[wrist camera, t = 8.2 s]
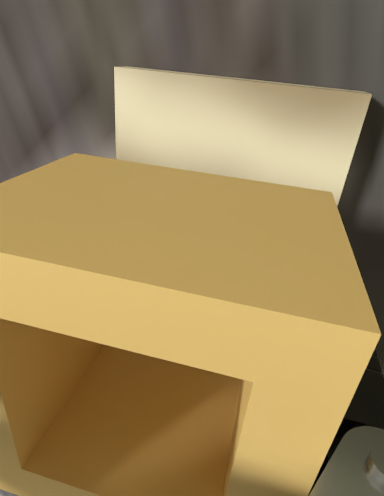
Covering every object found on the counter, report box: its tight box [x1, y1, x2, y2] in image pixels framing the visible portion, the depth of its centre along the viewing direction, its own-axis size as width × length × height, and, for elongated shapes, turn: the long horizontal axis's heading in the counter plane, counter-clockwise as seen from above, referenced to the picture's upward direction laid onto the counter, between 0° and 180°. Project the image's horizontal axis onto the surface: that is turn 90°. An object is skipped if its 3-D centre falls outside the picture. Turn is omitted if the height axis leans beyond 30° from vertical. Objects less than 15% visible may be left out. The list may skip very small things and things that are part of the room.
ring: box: [0, 153, 381, 496], centre depth 8 cm, size 7×7×5 cm
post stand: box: [114, 67, 372, 206], centre depth 14 cm, size 10×10×8 cm
